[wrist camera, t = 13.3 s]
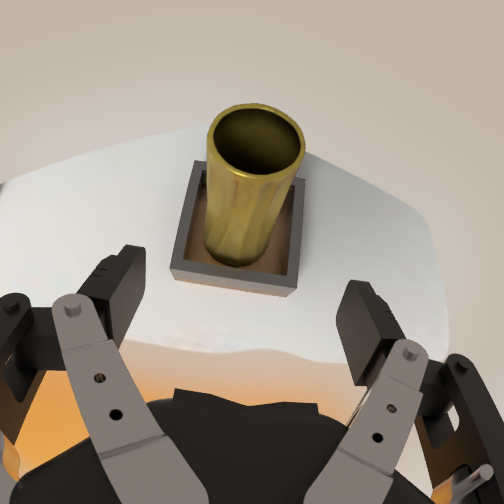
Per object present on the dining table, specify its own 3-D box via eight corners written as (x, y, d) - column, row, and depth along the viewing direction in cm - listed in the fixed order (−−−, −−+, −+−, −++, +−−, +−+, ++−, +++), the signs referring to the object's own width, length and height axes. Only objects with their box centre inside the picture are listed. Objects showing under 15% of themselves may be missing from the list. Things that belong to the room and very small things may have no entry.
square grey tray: (174, 279, 28) (169, 268, 25) (196, 182, 32) (194, 160, 28) (285, 297, 29) (296, 288, 25) (294, 198, 32) (305, 179, 29)
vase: (218, 195, 30) (226, 85, 17) (278, 218, 30) (325, 120, 17) (192, 251, 28) (178, 161, 15) (256, 276, 28) (296, 205, 15)
